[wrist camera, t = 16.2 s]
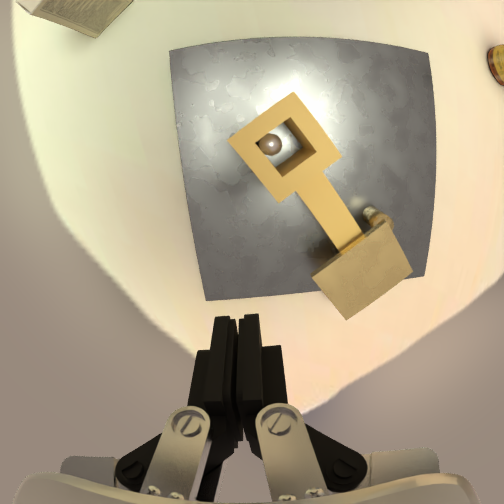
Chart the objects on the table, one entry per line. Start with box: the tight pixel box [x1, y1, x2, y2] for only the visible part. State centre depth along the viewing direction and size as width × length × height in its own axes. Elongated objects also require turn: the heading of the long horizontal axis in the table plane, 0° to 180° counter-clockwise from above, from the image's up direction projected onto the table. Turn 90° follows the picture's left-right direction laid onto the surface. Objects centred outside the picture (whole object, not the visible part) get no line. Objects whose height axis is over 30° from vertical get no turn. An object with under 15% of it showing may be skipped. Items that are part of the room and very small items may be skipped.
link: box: [227, 91, 363, 252], centre depth 25 cm, size 18×6×6 cm, turn 38°
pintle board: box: [169, 37, 436, 320], centre depth 25 cm, size 29×28×6 cm
